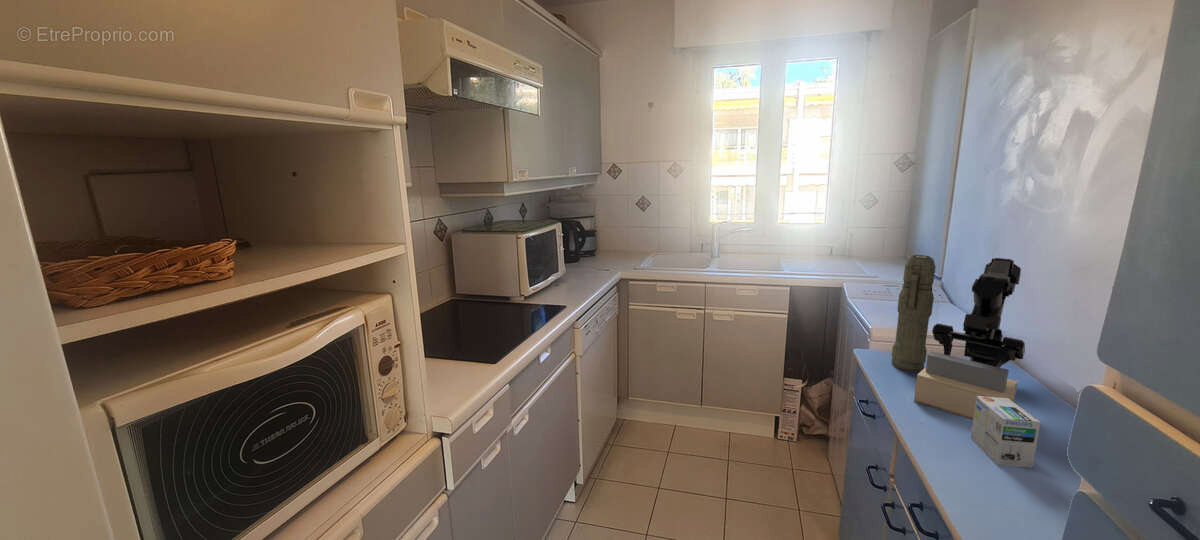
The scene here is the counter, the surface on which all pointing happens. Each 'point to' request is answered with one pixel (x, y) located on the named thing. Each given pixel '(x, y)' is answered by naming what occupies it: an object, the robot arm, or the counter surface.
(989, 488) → the counter surface
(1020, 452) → the light bulb box
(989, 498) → the counter surface
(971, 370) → the grey stone
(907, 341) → the thermos
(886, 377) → the counter surface
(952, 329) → the robot arm
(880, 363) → the counter surface
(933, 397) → the carton
